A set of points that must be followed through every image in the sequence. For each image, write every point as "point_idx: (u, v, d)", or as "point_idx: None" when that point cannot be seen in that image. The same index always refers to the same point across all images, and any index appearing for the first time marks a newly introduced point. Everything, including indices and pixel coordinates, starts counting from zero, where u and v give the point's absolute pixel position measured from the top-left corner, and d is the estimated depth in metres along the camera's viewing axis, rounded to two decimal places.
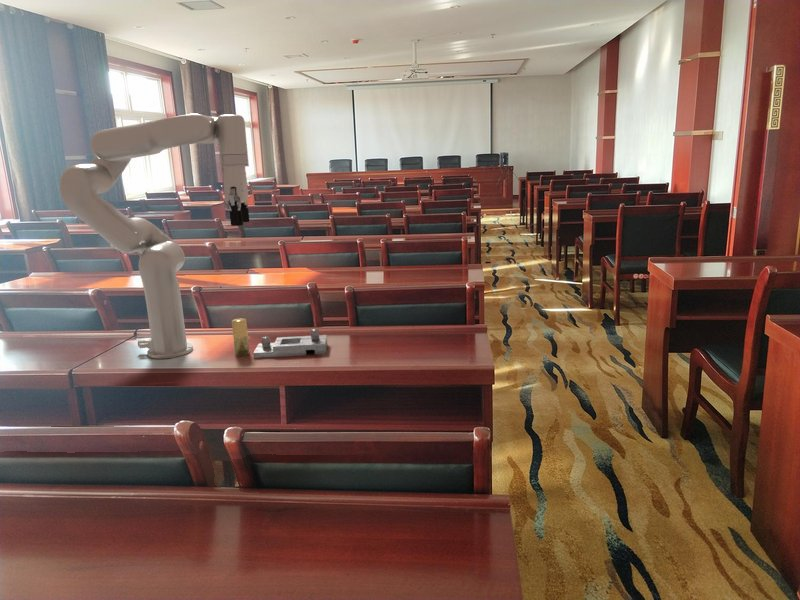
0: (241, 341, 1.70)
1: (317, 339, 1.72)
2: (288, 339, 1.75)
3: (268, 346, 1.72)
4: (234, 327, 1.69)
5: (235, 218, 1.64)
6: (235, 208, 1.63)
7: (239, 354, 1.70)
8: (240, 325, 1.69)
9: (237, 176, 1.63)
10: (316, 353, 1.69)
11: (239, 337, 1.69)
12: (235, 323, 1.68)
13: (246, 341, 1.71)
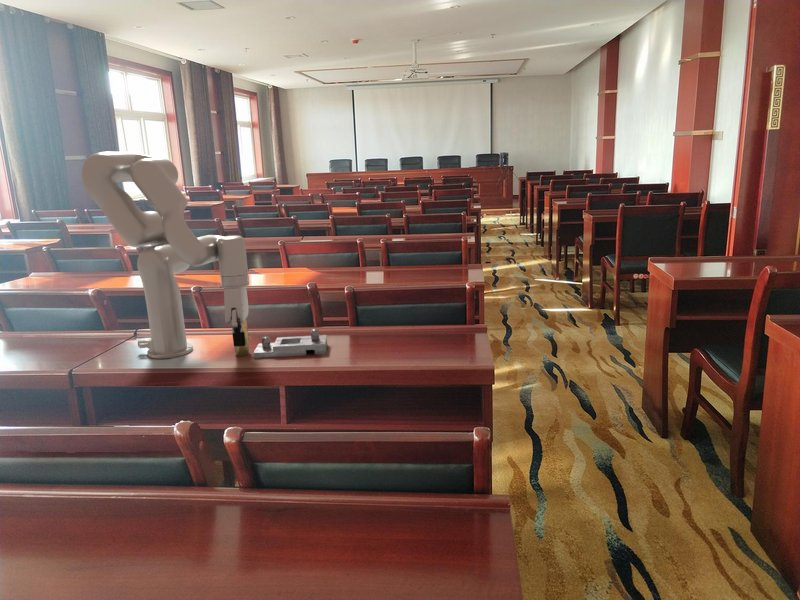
0: None
1: (317, 339, 1.72)
2: (288, 339, 1.75)
3: (268, 346, 1.72)
4: None
5: (237, 340, 1.68)
6: (238, 331, 1.67)
7: (239, 354, 1.70)
8: None
9: (238, 297, 1.64)
10: (316, 353, 1.69)
11: None
12: None
13: (246, 341, 1.71)
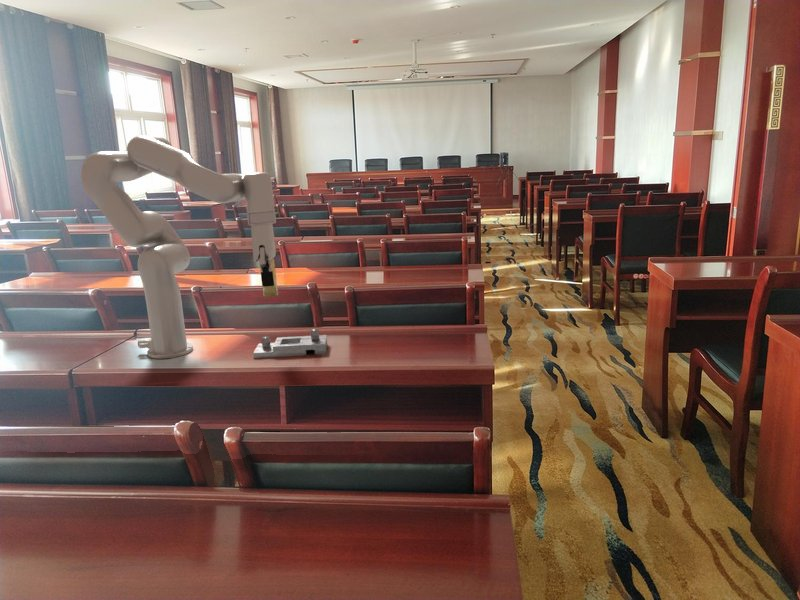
0: None
1: (317, 339, 1.72)
2: (288, 339, 1.75)
3: (268, 346, 1.72)
4: None
5: (266, 279, 1.65)
6: (266, 269, 1.63)
7: (268, 295, 1.67)
8: None
9: (265, 234, 1.61)
10: (316, 353, 1.69)
11: None
12: None
13: (275, 281, 1.67)
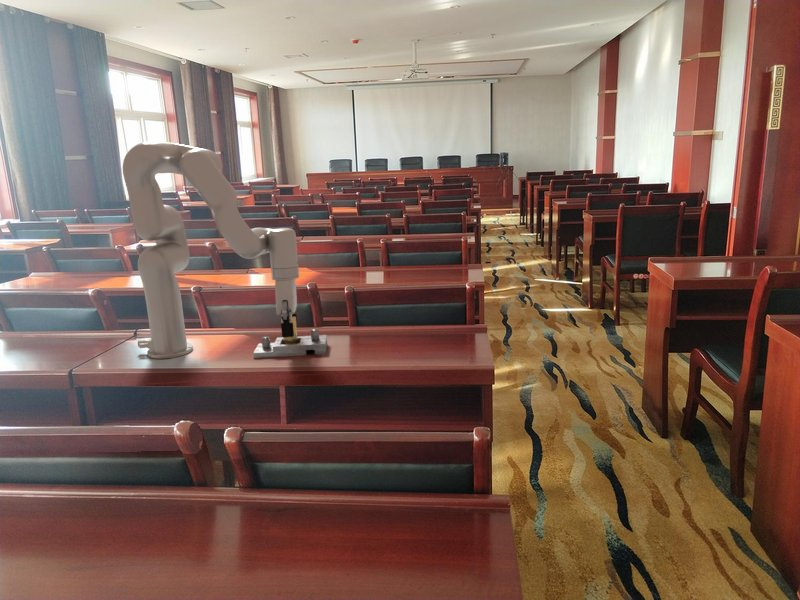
0: (291, 338, 1.70)
1: (317, 339, 1.72)
2: None
3: (268, 346, 1.72)
4: None
5: (286, 330, 1.66)
6: (287, 321, 1.65)
7: None
8: None
9: (289, 289, 1.65)
10: (316, 353, 1.69)
11: None
12: None
13: (296, 338, 1.72)
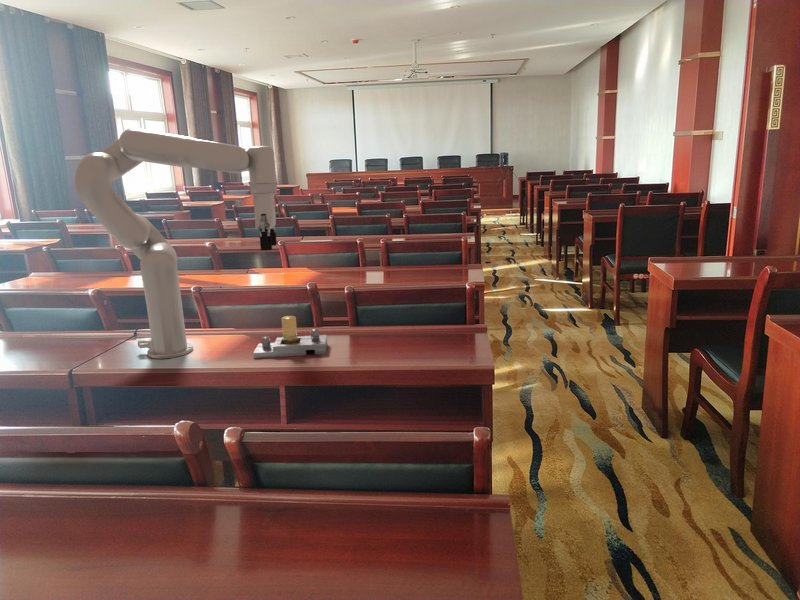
0: (291, 338, 1.70)
1: (317, 339, 1.72)
2: None
3: (268, 346, 1.72)
4: (284, 324, 1.70)
5: (264, 243, 1.74)
6: (265, 234, 1.73)
7: None
8: (290, 322, 1.69)
9: (267, 204, 1.73)
10: (316, 353, 1.69)
11: (289, 334, 1.70)
12: (285, 320, 1.69)
13: (296, 338, 1.72)
